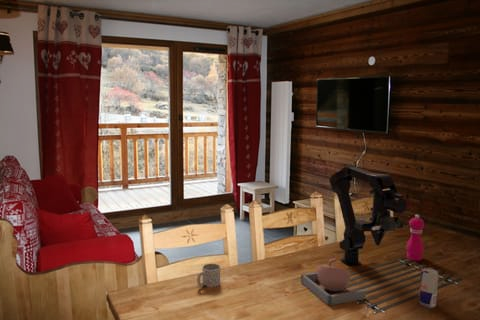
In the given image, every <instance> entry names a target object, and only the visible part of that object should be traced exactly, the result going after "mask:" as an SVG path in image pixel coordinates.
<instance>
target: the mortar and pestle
mask: <svg viewBox="0 0 480 320" xmlns="http://www.w3.org/2000/svg"><path fill="white" fill-rule="evenodd" d="M336 261H337V258H332V259H329V260H328V263H327V265H318V267H317V270H316V272H317V277H318V280H319V281H318V282H319V284H320V286H322V287H323V288H324V289H326V290H327V291H330V292H340V291H343V290H344V289H346V288H347V287H348V285H349V283H350V282H351V277H352V273H351V270H349V269H344V268H341V267H335V266H332V264H333V263H334V262H336Z"/></svg>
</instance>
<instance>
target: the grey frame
mask: <svg viewBox="0 0 480 320" xmlns="http://www.w3.org/2000/svg"><path fill="white" fill-rule="evenodd" d="M300 275H301V276H300V282H301V284H302V285H304V286H305V287H306V288H307V289H308V290H309V291H311V292H312V293H313V294H314V295H315V296H317V297H318V299H320V300H321V301H322V302H324V304H326V305H327V306H334V305H340V304H345V303H350V302H356V301H360V300H365V299H367V290H366V289H365V288H363V289H358V290H353V291H347V292H341V293H335V294H329V293H328V292H327V291H325V290H324V289H323V288H322V287H320V286H319V285H318V284H317V283H316V282H319V280H318V277H317V271H316V272H309V273H303V274H300Z"/></svg>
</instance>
